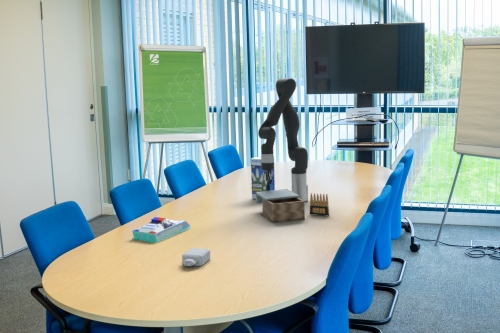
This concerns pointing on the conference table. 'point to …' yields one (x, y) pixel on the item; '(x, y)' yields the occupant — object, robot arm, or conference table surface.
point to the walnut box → (283, 209)
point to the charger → (196, 257)
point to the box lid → (275, 195)
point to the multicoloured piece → (159, 229)
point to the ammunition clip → (319, 205)
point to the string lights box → (259, 177)
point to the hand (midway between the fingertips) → (267, 190)
